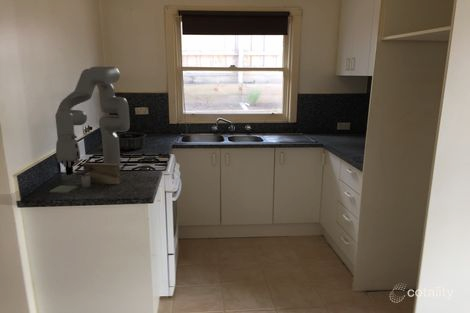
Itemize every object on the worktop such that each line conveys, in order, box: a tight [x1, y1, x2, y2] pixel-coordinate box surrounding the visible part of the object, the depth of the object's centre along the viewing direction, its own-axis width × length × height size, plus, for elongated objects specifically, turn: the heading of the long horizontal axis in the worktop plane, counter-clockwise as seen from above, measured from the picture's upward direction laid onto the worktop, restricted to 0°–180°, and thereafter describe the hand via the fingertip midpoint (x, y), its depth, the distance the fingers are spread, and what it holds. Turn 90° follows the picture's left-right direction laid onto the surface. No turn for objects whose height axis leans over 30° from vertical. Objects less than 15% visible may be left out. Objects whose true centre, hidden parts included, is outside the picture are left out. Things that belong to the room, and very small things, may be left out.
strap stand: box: [82, 162, 121, 185], centre depth 189 cm, size 3×18×10 cm, turn 83°
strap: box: [75, 167, 93, 176], centre depth 182 cm, size 11×2×1 cm, turn 173°
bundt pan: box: [116, 132, 147, 151], centre depth 279 cm, size 26×26×10 cm
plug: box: [80, 172, 92, 188], centre depth 183 cm, size 4×4×7 cm
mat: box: [49, 185, 78, 194], centre depth 178 cm, size 9×9×1 cm
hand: (69, 174), depth 179 cm, fingers closed
